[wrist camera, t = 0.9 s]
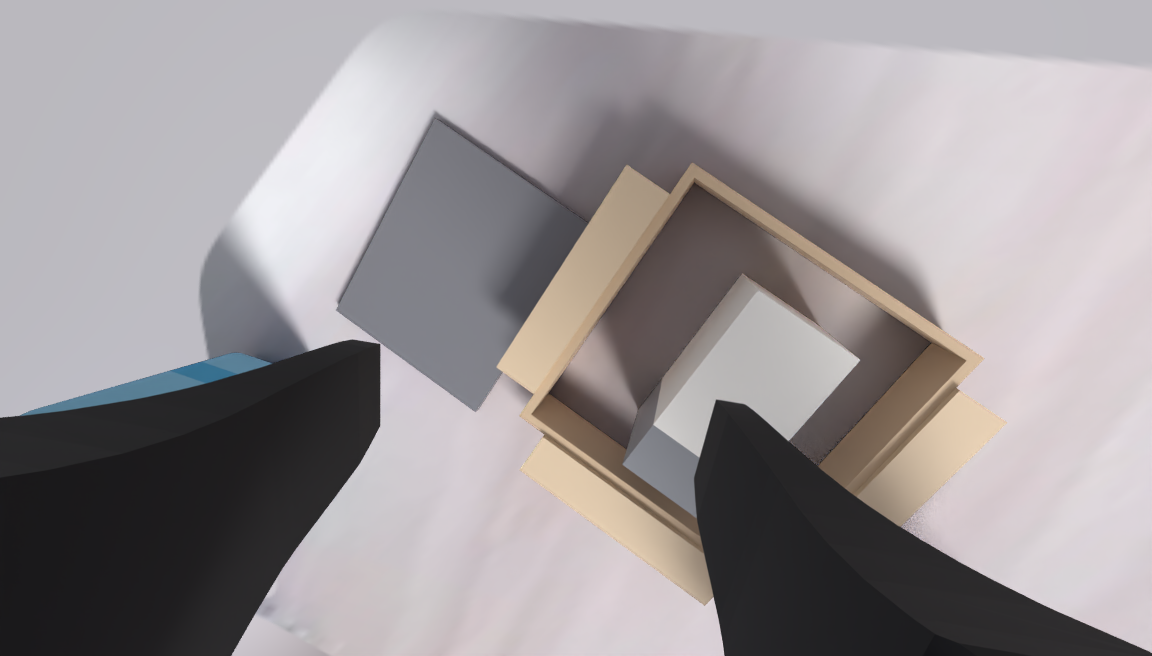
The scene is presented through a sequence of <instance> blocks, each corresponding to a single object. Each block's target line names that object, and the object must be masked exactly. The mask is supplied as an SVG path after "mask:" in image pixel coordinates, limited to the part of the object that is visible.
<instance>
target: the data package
mask: <svg viewBox="0 0 1152 656" xmlns="http://www.w3.org/2000/svg"><path fill="white" fill-rule="evenodd" d="M270 364H272V363H269V362H266V361H264V360H261V359H258V358H255V357H252V356H249V355H246V354H242V353H230V354H226V355H223V356H219V357H216V358H212V359H209V360H205V361H202V362H198V363H195V364H191V365H188V366H184V367H181V368H178V369H174V370H170V371H167V372H164V373H160V374H157V375H153V376H150V377H146V378H143V379H140V380H136V381H132V382H129V383H125V384H122V385H118V386H115V387H111V388H108V389H104V390H101V391H97V392H94V393H91V394H87V395H84V396H80V397H76V398H73V399H69V400H66V401H62V402H59V403H56V404H52V405H48V406H45V407H41V408H38V409H35V410H32V411H29V412H27V413H24V414H22V415H20V416H24V415H32V414H41V413H49V412H58V411H65V410H72V409H78V408H84V407H90V406H97V405H103V404H109V403H115V402H121V401H128V400H134V399H139V398H144V397H149V396H154V395H158V394H163V393H167V392H172V391H177V390H181V389H185V388H189V387H194V386H198V385H201V384H205V383H209V382H213V381H216V380H220V379H223V378H226V377H230V376H233V375H237V374H240V373H243V372H247V371H250V370H253V369H257V368H260V367H264V366H267V365H270Z"/></svg>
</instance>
